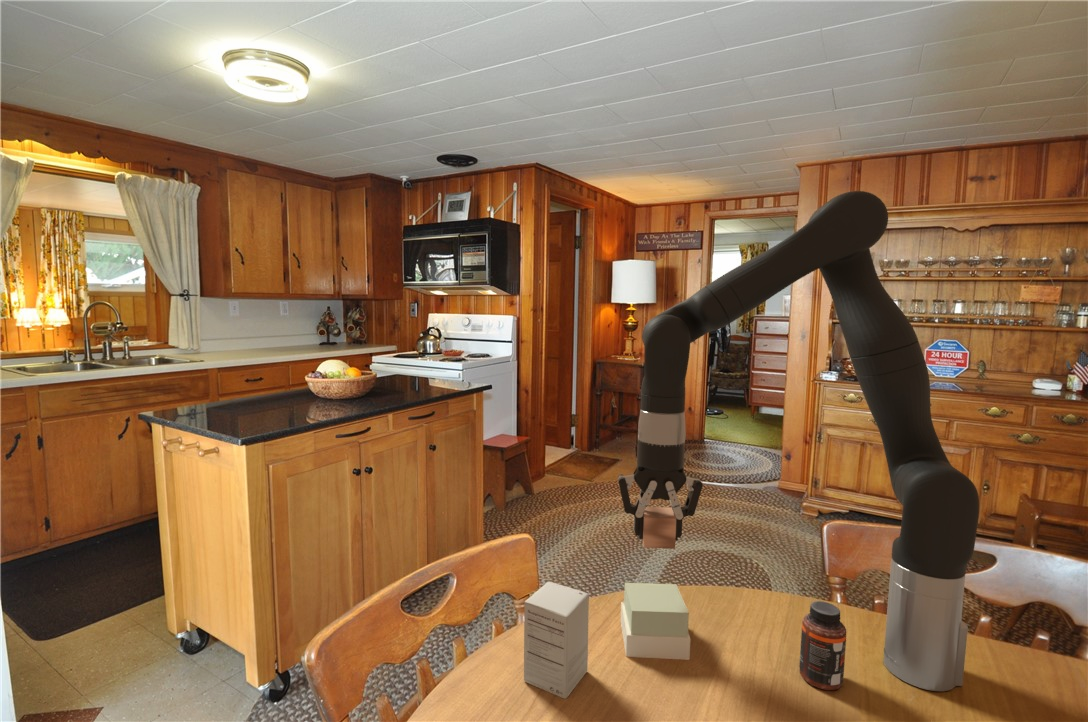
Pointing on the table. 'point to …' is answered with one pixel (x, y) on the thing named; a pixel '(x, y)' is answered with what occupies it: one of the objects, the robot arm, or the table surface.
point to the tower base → (653, 643)
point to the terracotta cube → (659, 528)
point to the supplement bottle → (823, 646)
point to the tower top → (655, 610)
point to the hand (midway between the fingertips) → (657, 537)
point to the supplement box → (556, 638)
